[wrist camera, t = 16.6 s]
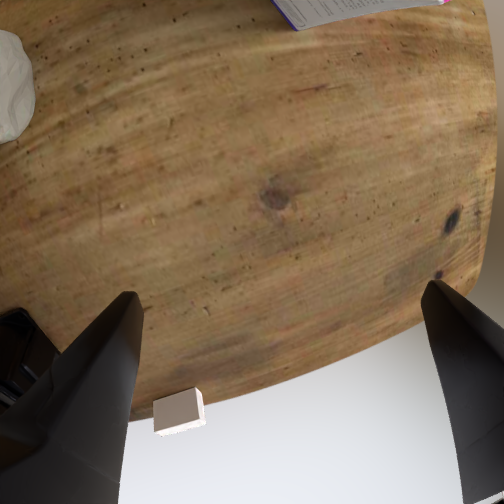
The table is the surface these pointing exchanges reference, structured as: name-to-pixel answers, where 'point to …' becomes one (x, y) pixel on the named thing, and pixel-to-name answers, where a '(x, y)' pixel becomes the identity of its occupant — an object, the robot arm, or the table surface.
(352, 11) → the supplement box
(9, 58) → the ceramic sculpture
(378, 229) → the table surface
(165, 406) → the eraser
